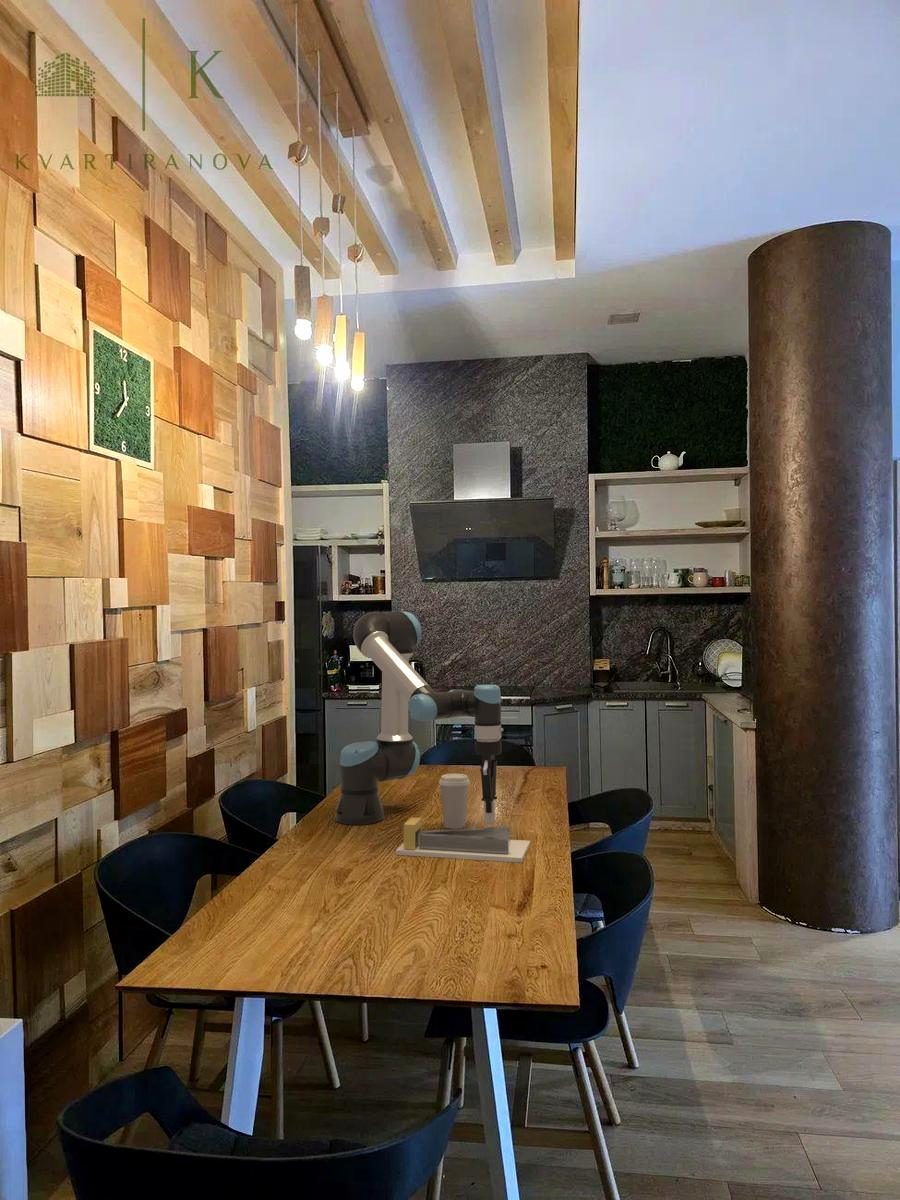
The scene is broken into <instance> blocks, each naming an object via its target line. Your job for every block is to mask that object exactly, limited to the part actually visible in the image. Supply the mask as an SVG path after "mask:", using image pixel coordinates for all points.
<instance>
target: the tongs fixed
mask: <svg viewBox="0 0 900 1200" xmlns="http://www.w3.org/2000/svg"><path fill="white" fill-rule="evenodd" d="M419 844H420V848H425V849H441V850H458V851H474V852H491V853H507V854H508V853H509V838H499V837H481V836H463V835H445V834H428V833H421V834H420V831H418V830H417V831H416V832H415V847H417V846H418V845H419Z"/></svg>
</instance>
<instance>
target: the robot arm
mask: <svg viewBox="0 0 900 1200" xmlns="http://www.w3.org/2000/svg"><path fill="white" fill-rule="evenodd" d="M352 638H353V642H354V644H355V646H356V648H357V650H358V651H359V652H360V653H361V654H362V655H363V656H364V657H365V658H368V659H369V658H370V660H371V661H373V663H374V664H375V665H376V666H377V668H379V670H380V671H381V732H380V733H379V734H378V735H377V737H376V741H373V740H372V741H369V740H367V741H366V740H365V741H362V742H361V741H357V742H352V743H350V744H347V745H345V746H344V747H343V748H342V749H341V751H340V760H339V764H340V796H339V799H338V803H337V805H336V808H335V812H334V813H335V815H334V817H335V818H334V819H335V820H334V821H335V822H337V823H340V824H344V825H350V826H351V825H352V826H353V825H355V826H358V825H359V826H361V825H362V826H364V825H372V824H376V823H379V822H381V821H383V820H384V819H385V812H384V811H385V810H384V807H383V804H382V801H381V798H380V795H379V783H381V782H388V781H392V780H401V779H404V778H407V777H408V778H409V777H411V776H412V775H414V773H416V771H417V769H418V768H419V765H420V761H421V752H420V749H419V746H418V745H417V743H416V742H415V741H414V740H413V736H412V735H411V734H410V733H409V715H410V717H411V718H412V719H413V720H414V721H416V722H430V721H436V720H437V721H438V720H443V719H451V718H452V719H453V718H460V717H470V718H474V738H475V741H474V749H475V751H474V752H475V754H476V755H480V756H482V760H480V769H479V772H480V776H481V778H480V779H481V790H482V791H481V792H482V793H481V794H482V797H481V801H482V802H483V804H484V806H483V807H484V810H483V811H484V812H483V814H484V825H495V823H496V807H495V806H496V804H495V803H496V801H495V800H497V799H498V796H497V767H498V766H497V765H498V762H497V759H495V758H496V757H495V756H497V755H500V754H502V753H503V752H502V751H503V747H502V746H503V744H502V740H501V739H502V732H504V728H503V727H502V696H501V695H502V694H501V688H500V686H498V685H496V684H477V685H475V686H474V689H473V690H466V689H462V688H461V689H460V688H459V689H451V690H449V691H442V692H441V691H440V692H436V691H435V690H434V688H432V687H431V686H430V685H429V683H427V682H426V680H425V679H424V677H422V675H420V674H419V673H418V672H417V670H415V668H414V667H413V666H412V665H411V664H410V658H411V657H412V656H413V655H414V650H415V649H414V648H415V647H416V646H418V645H419V643H420V641H421V639H422V627H421V623H420V622H419V620H418V619H417V618H416V616H415V615H414V614H413V613H411V612H410V611H400V610H396V611H372V612H366V613H365V614H363V615H362V616H360V617H359V618H358V620H356V622H355V624H354V626H353V634H352Z"/></svg>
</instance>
